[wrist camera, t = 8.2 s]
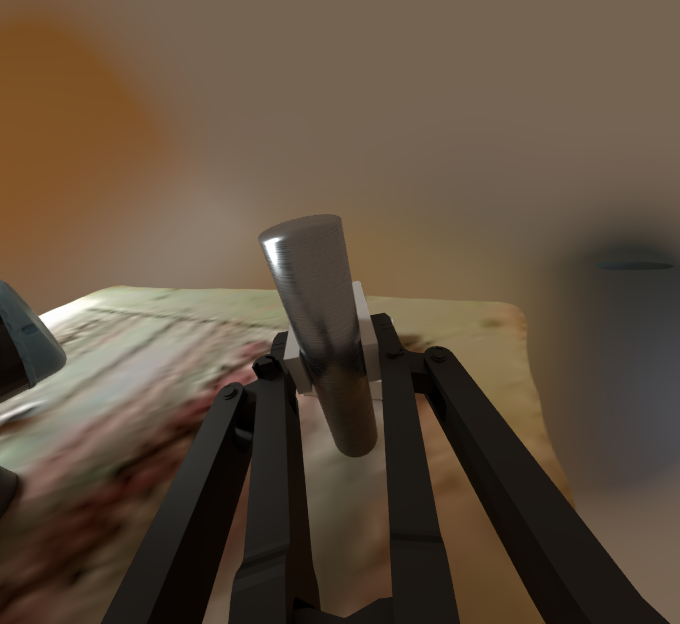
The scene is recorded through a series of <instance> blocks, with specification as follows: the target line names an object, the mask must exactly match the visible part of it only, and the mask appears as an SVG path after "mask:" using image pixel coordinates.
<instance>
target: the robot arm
mask: <svg viewBox="0 0 680 624" xmlns="http://www.w3.org/2000/svg"><path fill="white" fill-rule="evenodd" d="M352 286H353V292H354V297H355V303H356V309H357V315H358V321H359V327H360V332H361V343H362V349H363V355H364V360H365V366H366V372H367V377H368V382H374V381H379V380H381V385H382V402H383V419H384V437H385V454H386V471H387V488H388V506H389V523H390V557H391V576H392V594H393V597H389V598H381V599H378V600H376V601H374V602H373V603H371V604H369V605H368V606H366V607H364V608H362V609H361V610H359V611H357V612H355V613H354V614H352V615H350V616H348V617H346V618H342V617H338V616H335V615H332V614H328V613H325V612H322V611H321V609H320V599H319V590H318V584H317V579H316V575H315V572H314V568H313V561H312V551H311V540H310V529H309V518H308V507H307V496H306V485H305V474H304V463H303V452H302V441H301V430H300V419H299V408H298V401H297V398H296V389H297V391H298V394H304V393H310V392H312V387H313V383H312V380H311V378H310V375H309V372H308V370H307V367H306V364H305V362H304V359H303V356H302V354H301V351H300V348H299V346H298V343H297V340H296V338H295V335H294V332H293V330H292V327H291V324H290V326H289V331H286V332H281V333H278V334H277V335H276V337H275V338H274V340H273V344H272V348H271V352H270V354H266V355H264V356H261V357H260V358H258V359H257V360H256V361H255V362H254V363H253V366H252V368H253V370H254V372H255V374H256V375H257V377H258V379H257V380H256V381H254V382H252V383H250V384H247V385H245V386H243V385H242V384H241V383H239V382H234V383H230V384H228V385H226V386H224V387H223V388H222V389H221V390H220V391H219V393H218V394H217V396H216V398H215V400H214V402H213V404H212V406H211V408H210V410H209V412H208V413H207V415H206V417H205V419H204V421H203V423H202V425H201V427H200V429H199V431H198V433H197V435H196V437H195V439H194V441H193V443H192V445H191V447H190V449H189V451H188V453H187V455H186V457H185V459H184V461H183V463H182V465H181V467H180V469H179V471H178V473H177V475H176V476H175V478H174V480H173V482H172V484H171V486H170V488H169V490H168V492H167V494H166V496H165V498H164V500H163V502H162V504H161V506H160V508H159V510H158V512H157V514H156V516H155V518H154V520H153V522H152V524H151V526H150V528H149V530H148V532H147V534H146V536H145V538H144V539H143V541H142V543H141V545H140V547H139V549H138V551H137V553H136V555H135V557H134V559H133V561H132V563H131V565H130V567H129V569H128V571H127V573H126V575H125V577H124V579H123V581H122V583H121V585H120V587H119V589H118V591H117V593H116V595H115V597H114V599H113V601H112V602H111V604H110V606H109V608H108V610H107V612H106V614H105V616H104V618H103V620H102V622H101V624H202V621H203V618H204V615H205V611H206V608H207V605H208V601H209V598H210V595H211V591H212V588H213V584H214V581H215V578H216V574H217V571H218V568H219V564H220V561H221V558H222V554H223V551H224V547H225V544H226V541H227V537H228V534H229V531H230V527H231V524H232V521H233V517H234V514H235V510H236V507H237V504H238V500H239V497H240V494H241V490H242V487H243V484H244V480H245V477H246V473H247V470H248V467H249V463H250V460H251V457H252V462H251V475H250V487H249V499H248V512H247V524H246V537H245V549H244V558H243V562H242V565H241V566H240V568H239V569H238V570H237V572H236V575H235V578H234V581H233V587H232V593H231V602H230V612H229V621H228V624H460V621H459V616H458V610H457V605H456V600H455V595H454V590H453V584H452V579H451V574H450V569H449V563H448V559H447V554H446V550H445V546H444V542H443V540H442V537H441V533H440V529H439V523H438V518H437V513H436V507H435V502H434V496H433V491H432V486H431V480H430V475H429V469H428V464H427V459H426V453H425V448H424V442H423V437H422V432H421V426H420V421H419V415H418V410H417V405H416V399H415V394H414V393H421V394H424V395H425V397H426V399H427V401H428V403H429V404H430V406H431V408H432V410H433V412H434V414H435V416H436V418H437V420H438V422H439V423H440V425H441V427H442V429H443V431H444V433H445V435H446V437H447V439H448V441H449V443H450V444H451V446H452V448H453V450H454V452H455V454H456V456H457V458H458V460H459V462H460V464H461V465H462V467H463V469H464V471H465V473H466V475H467V477H468V479H469V481H470V483H471V484H472V486H473V488H474V490H475V492H476V494H477V496H478V498H479V500H480V502H481V504H482V505H483V507H484V509H485V511H486V513H487V515H488V517H489V519H490V521H491V523H492V525H493V526H494V528H495V530H496V532H497V534H498V536H499V538H500V540H501V542H502V544H503V545H504V547H505V549H506V551H507V553H508V555H509V557H510V559H511V561H512V563H513V565H514V566H515V568H516V570H517V572H518V574H519V576H520V578H521V580H522V582H523V584H524V586H525V587H526V589H527V591H528V593H529V595H530V597H531V598H532V600H533V602H534V604H535V606H536V607H537V609H538V611H539V613H540V614H541V616H542V618H543V620H544V621H545V623H546V624H670V623H669V622H668V621H667V620H666V619H665V618H663V617H662V616H661V615H660V614H659V613H658V612H657V611H656V610H655V609H654V608H653V607H652V606H651V605H650V604H649V603H647V602H646V601H645V600H644V599H643V598H642V597H641V595H640V594H639V593H638V591H637V590H636V589H635V588H634V586H633V585H632V584H631V582H630V581H629V580H628V579H627V578H626V576H625V575H624V574H623V572H622V571H621V570H620V568H619V567H618V566H617V564H616V563H615V562H614V561H613V559H612V558H611V557H610V555H609V554H608V553H607V552H606V550H605V549H604V548H603V546H602V545H601V544H600V542H598V540H597V539H596V537H595V536H594V535H593V534H592V532H591V531H590V530H589V528H588V527H587V526H586V524H585V523H584V522H583V521H582V519H581V518H580V517H579V516H578V514H577V513H576V512H575V510H574V509H573V508H572V506H571V505H570V504H569V503H568V501H567V500H566V499H565V497H564V496H563V495H562V494H561V492H560V491H559V490H558V488H557V487H556V486H555V484H554V483H553V482H552V481H551V479H550V478H549V477H548V475H547V474H546V473H545V472H544V470H543V469H542V468H541V466H540V465H539V464H538V463H537V461H536V460H535V459H534V457H533V456H532V455H531V454H530V452H529V451H528V450H527V448H526V447H525V446H524V445H523V443H522V442H521V441H520V439H519V438H518V437H517V435H516V434H515V433H514V432H513V430H512V429H511V428H510V426H509V425H508V424H507V423H506V421H505V420H504V419H503V417H502V416H501V415H500V414H499V412H498V411H497V410H496V408H495V407H494V406H493V405H492V403H491V402H490V401H489V399H488V398H487V397H486V396H485V394H484V393H483V392H482V390H481V389H480V388H479V387H478V385H477V384H476V383H475V381H474V380H473V379H472V377H471V376H470V375H469V374H468V372H467V371H466V370H465V368H464V367H463V366H462V365H461V363H460V362H459V361H458V359H457V358H456V357H455V356H454V354H453V353H452V352H451V351H450V350H449V349H447V348H444V347H440V346H434V347H430V348H428V349H427V350H426V351H425V352H424V353H415V352H411V351H408V350H406V349H405V348H404V347H403V346H402V345H401V343H400V341H399V338H398V336H397V333H396V331H395V328H394V326H393V324H392V321H391V318H390V317H389V316H388V315H387V314H386V313H380V314H375V315H370V314H369V311H368V307H367V304H366V301H365V297H364V294H363V290H362V287H361V283H360V281H356V282H352ZM66 360H67V357H66V354H65V352H64V350H63V349H62V347H61V346H60V344H59V343H58V341H57V340H56V339H55V337H54V336H53V335H52V333H51V332H50V331H49V329H48V328H47V327H46V326H45V324H44V323H43V322H42V321H41V319H40V318H39V317H38V316H37V315H36V313H35V312H34V311H33V310H32V309H31V308H30V307H29V305H28V304H27V303H26V302H25V301H24V300H23V299H22V298H21V297H20V295H19V294H18V293H17V292H16V291H14V289H13V288H12V287H11V286H10V285H9V284H7V283H6V282H4V281H2V280H0V403H2V402H4V401H6V400H8V399H10V398H12V397H14V396H16V395H17V394H19V393H21V392H23V391H25V390H27V389H31V388H33V387H35V386H36V384H37V383H38V382H40V381H42V380H44V379H45V378H47V377H49V376H51V375H53V374H54V373H56V372H58V371H59V370H61V369H62V368H63V367H64V365H65V364H66ZM16 486H17V477H16V475H15V474H14V473H13V472H12V471H9V470H7V469H5V468H3V467H1V466H0V517H1V515H2V514H3V512H4V511H5V509H6V508H7V506H8V505H9V503H10V501H11V499H12V497H13V495H14V492H15V490H16Z"/></svg>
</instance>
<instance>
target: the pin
mask: <svg viewBox="0 0 680 624" xmlns="http://www.w3.org/2000/svg"><path fill="white" fill-rule="evenodd" d="M258 239H259V242H260V244H261V247H262V250H263V253H264V255H265V258H266V261H267V263H268V266H269V269H270V271H271V274H272V276H273V279H274V282H275V285H276V287H277V290H278V292H279V295H280V298H281V300H282V303H283V306H284V308H285V311H286V314H287V316H288V319H289V322H290V324H291V327H292V330H293V332H294V335H295V338H296V340H297V343H298V346H299V348H300V351H301V354H302V356H303V359H304V362H305V364H306V367H307V370H308V372H309V375H310V378H311V380H312V383H313V386H314V388H315V391H316V394H317V396H318V399H319V402H320V404H321V407H322V410H323V412H324V415H325V417H326V420H327V423H328V425H329V428H330V431H331V433H332V436H333V439H334V441H335V444H336V446H337V448H338V449H339V451H340V452H341V453H343V454H344V455H346V456H349V457H361V456H364V455H366V454H368V453H369V452H370V451H371V450H372V449H373V448H374V446H375V444H376V442H377V438H378V432H377V426H376V420H375V414H374V408H373V402H372V396H371V391H370V385H369V382H368V377H367V372H366V366H365V360H364V355H363V349H362V343H361V332H360V327H359V321H358V315H357V309H356V303H355V297H354V292H353V286H352V280H351V274H350V269H349V262H348V257H347V251H346V245H345V239H344V233H343V227H342V222H341V218H340V217H339V216H336V215H328V214H326V215H313V216H307V217H302V218H297V219H293V220H290V221H286V222H283V223H280V224H278V225H276V226H273V227H271V228H269V229H267V230H265V231H264V232H262V233H261V234H260V235H259V237H258Z"/></svg>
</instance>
